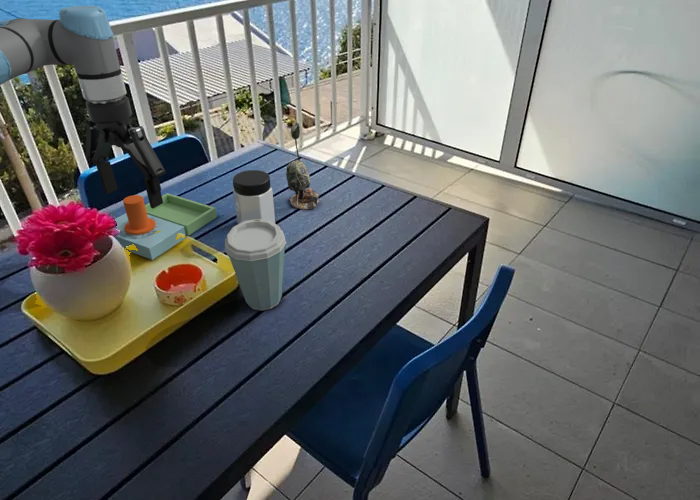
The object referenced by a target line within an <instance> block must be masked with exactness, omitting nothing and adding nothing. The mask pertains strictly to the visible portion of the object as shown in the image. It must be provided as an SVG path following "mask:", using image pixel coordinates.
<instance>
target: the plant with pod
mask: <svg viewBox="0 0 700 500" xmlns="http://www.w3.org/2000/svg"><path fill="white" fill-rule="evenodd" d="M300 128H301V127H300V124H299V122H296V121H295V122H294V124H293V125H292V126H291V128H290V136H291V137H292V139H293V140H294V144H295V149H296V155H297V159H295V160H293V161H290V162H289V163H288V164H286V163H284V165H285V166H286V165H287V166H286V172H285V173H286V174H285V176H286V181H287V186H288V189H289V190H290V191H293V192H294V193H295V194H293V195H292V196H291V197H289V202H290V204H291V206H292V207H293V208H296V209H300V210H312V209H315V208H316V207H317V206H318V204H319V202H320V200H319V197H320V196H319V193H318V192H316V191H314V190H313V188H311V176H310V174H309V171H308V169H307V166H306V164H305V163H304V161H302V160H300V155H299V150H298V142H297V141H298V139H299V138H300V135H301V129H300Z"/></svg>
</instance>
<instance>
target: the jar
mask: <svg viewBox="0 0 700 500" xmlns="http://www.w3.org/2000/svg"><path fill="white" fill-rule="evenodd" d="M273 192H274V191H273V188H272V187H271V176H270V174H269V173H268V172H265V171H263V170H259V169H250V170H244V171H240V172H238V173H236V174H235V175H233V177H232V193H233V194H232V195H233V202H234V208H235V209H234V210H235V214H236V216H235V217H236V222H237V225H238V224H240V223H241V222H243V221H247V220H254V219H263V220H270V221H272V222H274V223H275V224H276V214H275V213H276V212H275V205H274V204H275V203H274V193H273Z"/></svg>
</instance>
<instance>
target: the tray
mask: <svg viewBox="0 0 700 500" xmlns="http://www.w3.org/2000/svg"><path fill="white" fill-rule="evenodd" d="M162 199H163V204H161V205H159V206H157V207H155V208H154V209H153V208H151V207H150V203H149V202H148V203H146V204H145V208H146V212H147V214H148V215H151V216H154V217H157V218H160V219H163V220H166V221H169V222H172V223H175V224H178V225H181V226H184V229H185V234H186V236H191V235H192V234H194V233H195V232H197V231H198V230H200V229H202V227H204V226H206V225H207V224H209V223H211V222H212V221H214V220H215V219H216V218H218V215H217V209H216V207H214V206H211V205H209V204H208V205H207V204H205V203H201V202H198V201H195V200H191V199H188V198H185V197H181V196H178V195H175V194H172V193H168V192H167V193H165V194H163V195H162Z"/></svg>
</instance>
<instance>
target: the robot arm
mask: <svg viewBox="0 0 700 500" xmlns="http://www.w3.org/2000/svg"><path fill="white" fill-rule="evenodd" d="M58 15H59V19H44V18H43V19H42V18H41V19H39V18H37V19H36V18H25V17H18V18H17V17H16V18H11V19H8V18H7V19H3V20H1V21H0V86H1V85H3V84H5V83H6V82H8V81H10V80H13V79H15V78H18V77H20V76H23V75H25V74H28V73H31V72H33V71H35V70H37V69H39V68H42V67H45V66H73V67H74V70H75V73H76V76H77V80H78V83H79V87H80V91H81V94H82V98H83V99H84V100H86V101H85V106H86V110H87V113H88V118H85V119H84V123H85V128H86V136H85V137H86V140H85V158H86V159H87V160H88V161H90V160H91V161H92V163H93V164H94V165H95V167H96V170H97V172H98V173H97V174H98V175H99V176H98V177H100V181H101V184H102V188H103V191H104V194H106V195H109V194H111V193H113V192H115V191H117V190H119V188H118V184H117V181H116V178H115V174H114V171H113V167H112V164H111V161H110V160H109V159H110V158H109V154H110V151H111V149H112V147H113V146H115V147H116V148H120V149H121V151H123V152H124V153H125V152H126V153H127V155H128V156H129V157H130V158H131V160H132V161H133V162H134V164H135V165H136V166H137V167H138V169H139V170H140V171H141V173H142V174H143V176H144V178H143V184H144V187H145V190H146V195H147V198H148V203H150V207H151V208H153V209H154V208H155V207H157V206H159V205H161V204H163V199H162V196H163V195H162V186H161V182H160V178H159V177H162V176H163V175H165V174H166V169H165V168H164V166H163V164H162V162H161V161H160V159H159V157H158V155H157V153H156V152H155V150H154V148H153V146H152V144H151V143H150V141H149V139H148V138H147V134H146V131H145V128H144V127H143V126H142V125H139V126H137V127H133V126H132V124H131V122H130V119H131V117H132V115H133V111H132V107H131V104H130V103H131V102H130V100H129V97H128V96H127V95H126V94H127V89H126V84H125V81H124V77H123V72H122V68H121V65H120V60H119V56H118V52H117V48H116V44H115V40H114V32H113V30H112V27H111V24H110V21H109V17H108V14H107V12H106V11H105V9H103V8H102V7H100V6H97V5H75V6H66V7H63V8H60V10H59V12H58Z"/></svg>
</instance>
